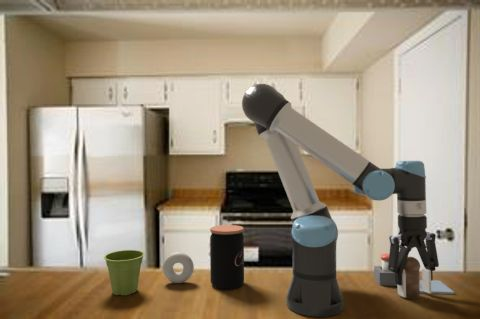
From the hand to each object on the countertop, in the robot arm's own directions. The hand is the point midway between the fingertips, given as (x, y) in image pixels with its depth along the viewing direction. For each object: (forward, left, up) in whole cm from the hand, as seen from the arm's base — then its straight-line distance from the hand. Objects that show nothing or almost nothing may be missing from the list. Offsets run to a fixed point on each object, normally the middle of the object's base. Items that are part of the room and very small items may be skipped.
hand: (414, 293), depth 106 cm
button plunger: (-4, +12, 0) cm, 12 cm away
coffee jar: (-55, +5, -1) cm, 55 cm away
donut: (-71, +5, -1) cm, 71 cm away
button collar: (-4, +12, -1) cm, 12 cm away
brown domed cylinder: (-1, 0, -1) cm, 1 cm away
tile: (+7, +8, -1) cm, 10 cm away
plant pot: (-85, -4, -1) cm, 85 cm away
